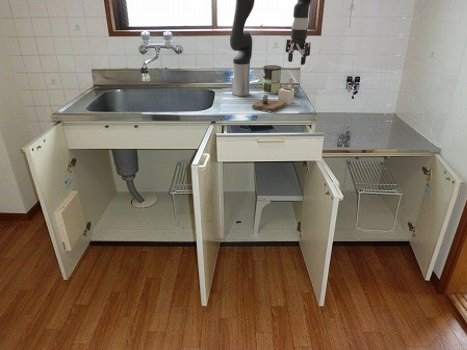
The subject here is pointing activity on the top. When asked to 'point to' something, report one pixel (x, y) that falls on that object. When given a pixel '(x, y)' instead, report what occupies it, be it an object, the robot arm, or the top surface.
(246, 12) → the robot arm
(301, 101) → the top surface
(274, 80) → the coffee can
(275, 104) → the board
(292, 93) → the cream rectangular block
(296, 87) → the pipe connector
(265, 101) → the metal cylinder puck
